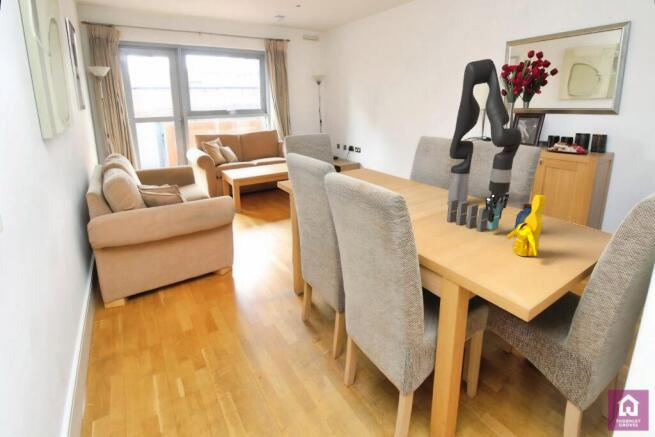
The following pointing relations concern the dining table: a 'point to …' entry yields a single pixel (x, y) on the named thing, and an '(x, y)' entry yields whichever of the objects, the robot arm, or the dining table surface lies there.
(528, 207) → the perfume bottle
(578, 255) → the dining table surface
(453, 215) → the tile
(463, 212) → the tile
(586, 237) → the dining table surface
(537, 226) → the figure statuette
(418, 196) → the dining table surface
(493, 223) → the end tile
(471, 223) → the tile
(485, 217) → the tile
